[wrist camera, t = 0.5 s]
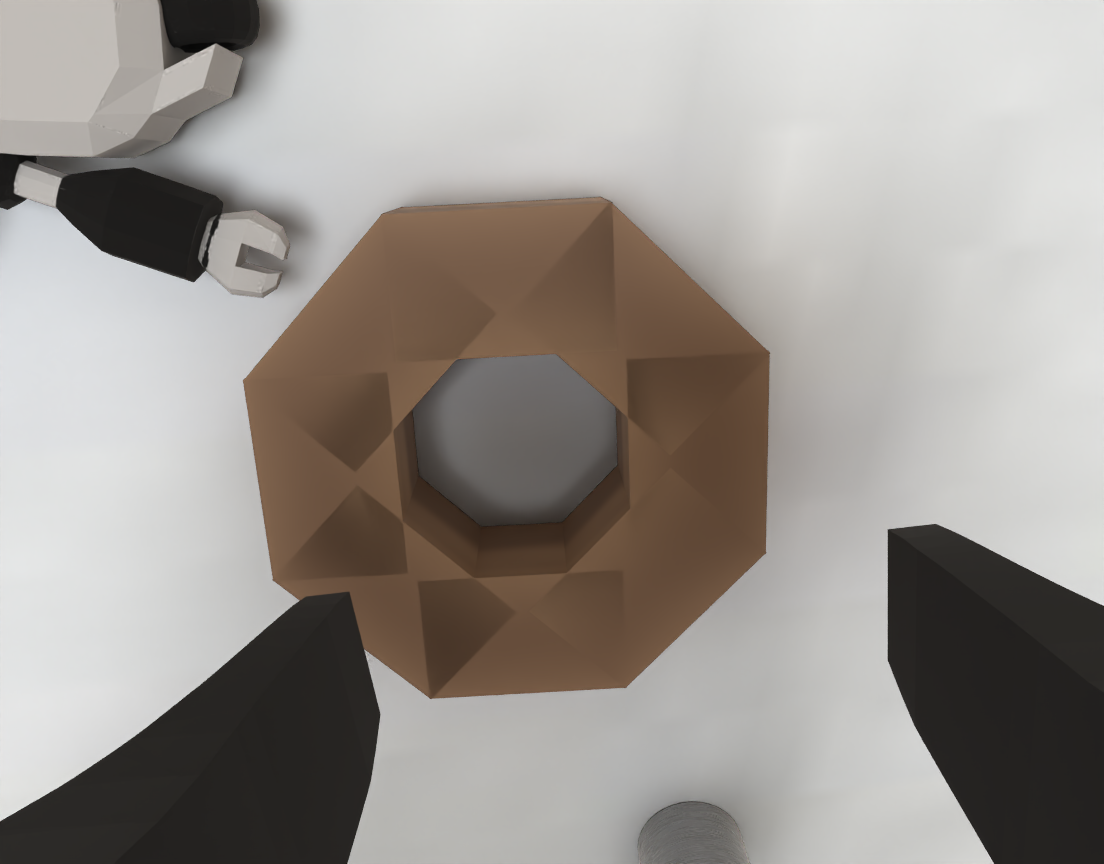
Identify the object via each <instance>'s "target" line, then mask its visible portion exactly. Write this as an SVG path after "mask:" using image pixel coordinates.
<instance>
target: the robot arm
mask: <svg viewBox="0 0 1104 864" xmlns="http://www.w3.org/2000/svg"><path fill="white" fill-rule="evenodd" d="M888 662H889V664H890V667H891V669H892V672H893V674H894V677H895V680H896V682H897V685H898V687H899V690H900V692H901V695H902V697H903V700H904V702H905V704H906V707H907V709H908V711H909V714H910V716H911V718H912V721H913V723H914V726H915V727H916V729H917V731H918V733H919V735H920V736H921V738H922V740H923V742H924V744H925V745H926V747H927V749H928V751H929V752H930V754H931V756H932V758H933V759H934V761H935V763H936V765H937V766H938V768H939V770H940V771H941V773H942V775H943V777H944V778H945V780H946V782H947V784H948V785H949V787H950V789H951V790H952V792H953V794H954V796H955V797H956V799H957V801H958V802H959V804H960V806H961V808H962V809H963V811H964V813H965V814H966V816H967V818H968V820H969V821H970V823H971V825H972V826H973V828H974V830H975V832H976V833H977V835H978V837H979V838H980V840H981V842H982V844H983V845H984V847H985V849H986V850H987V852H988V854H989V856H990V857H991V859H992V861H993V862H994V864H1104V606H1103V605H1100V604H1098V603H1096V602H1094V601H1092V600H1090V599H1088V598H1085V597H1083V596H1081V595H1079V594H1077V593H1075V592H1073V591H1071V590H1068V589H1066V588H1064V587H1062V586H1060V585H1058V584H1056V583H1054V582H1052V581H1050V580H1048V579H1046V578H1044V577H1042V576H1040V575H1038V574H1036V573H1034V572H1032V571H1030V570H1028V569H1026V568H1024V567H1022V566H1020V565H1018V564H1016V563H1014V562H1012V561H1010V560H1009V559H1007V558H1005V557H1003V556H1001V555H999V554H997V553H995V552H993V551H991V550H989V549H987V548H985V547H983V546H981V545H979V544H977V543H975V542H973V541H971V540H969V539H967V538H965V537H963V536H961V535H959V534H957V533H955V532H953V531H951V530H949V529H946V528H944V527H942V526H939V525H937V524H931V525H923V526H914V527H905V528H896V529H888ZM379 721H380V711H379V707H378V703H377V699H376V695H375V691H374V687H373V683H372V679H371V675H370V671H369V667H368V663H367V659H366V655H365V651H364V647H363V643H362V639H361V635H360V631H359V628H358V624H357V620H356V616H355V612H354V608H353V604H352V600H351V596H350V592H341V593H332V594H323V595H315V596H306V597H304V598H303V599H302V600H300V601H299V602H297V603H296V604H295V605H293V606H292V607H291V608H290V609H288V610H287V611H286V612H285V613H284V614H282V615H281V616H280V617H279V618H278V619H277V620H275V621H274V622H273V623H272V624H271V625H270V626H268V627H267V628H266V629H265V630H264V631H263V632H261V633H260V634H259V635H258V636H257V637H256V638H255V639H254V640H252V641H251V642H250V643H249V644H248V645H247V646H245V647H244V648H243V649H242V650H241V651H240V652H238V653H237V654H236V655H235V656H234V657H233V658H232V659H230V660H229V661H228V662H227V663H226V664H225V665H223V666H222V667H221V668H220V669H219V670H218V671H216V672H215V673H214V674H213V675H212V676H211V677H209V678H208V679H207V680H206V681H205V682H203V683H202V684H201V685H200V686H198V687H197V688H196V689H195V690H193V691H192V692H191V693H190V694H188V695H187V696H186V697H185V698H183V699H182V700H181V701H180V702H178V703H177V704H176V705H174V706H173V707H172V708H171V709H169V710H168V711H167V712H166V713H164V714H163V715H162V716H161V717H159V718H158V719H157V720H156V721H154V722H153V723H152V724H151V725H149V726H148V727H147V728H145V729H144V730H143V731H141V732H140V733H139V734H137V735H136V736H135V737H133V738H132V739H130V740H129V741H128V742H126V743H125V744H123V745H122V746H121V747H119V748H118V749H116V750H115V751H113V752H112V753H111V754H109V755H108V756H106V757H105V758H103V759H102V760H100V761H99V762H97V763H96V764H94V765H93V766H91V767H90V768H88V769H87V770H85V771H84V772H82V773H81V774H79V775H78V776H76V777H75V778H73V779H71V780H70V781H68V782H67V783H65V784H63V785H62V786H60V787H59V788H57V789H55V790H54V791H52V792H50V793H48V794H47V795H45V796H43V797H41V798H40V799H38V800H36V801H35V802H33V803H31V804H29V805H28V806H26V807H24V808H23V809H21V810H19V811H17V812H16V813H14V814H12V815H10V816H9V817H7V818H5V819H4V820H2V821H0V864H347V862H348V859H349V856H350V852H351V849H352V845H353V842H354V839H355V835H356V832H357V828H358V825H359V821H360V818H361V814H362V811H363V807H364V804H365V800H366V797H367V793H368V789H369V786H370V782H371V776H372V770H373V764H374V757H375V751H376V744H377V736H378V729H379Z"/></svg>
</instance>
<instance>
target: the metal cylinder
mask: <svg viewBox="0 0 1104 864" xmlns="http://www.w3.org/2000/svg"><path fill="white" fill-rule="evenodd" d="M638 855H639V862H640V864H750V862H749V859H748V856H747V853H746V849H745V846H744V843H743V840H742V837H741V834H740V831H739V828H738V826H737V824H736V823H735V821H734V820H733V819H732V817H731V816H730V815H728V814H727V813H726V812H725V811H723V810H722V809H720V808H718V807H716V806H713V805H710V804H706V803H701V802H685V803H679V804H675V805H672V806H669V807H667V808H665V809H663V810H661V811H660V812H658V813H657V814H656V815H654V816H653V817H652V818H651V819H650V820H649V821H648V822H647V824H646V825H645V826H644V828H643V830H642V832H641V834H640V837H639V841H638Z"/></svg>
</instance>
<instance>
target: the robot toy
mask: <svg viewBox="0 0 1104 864" xmlns="http://www.w3.org/2000/svg"><path fill="white" fill-rule="evenodd" d="M259 26H260V24H259V8H258V5H257V1H256V0H0V207H1V208H4V209H7V210H8V209H10V208H12V207H14V206H16V205H18V204H20V203H22V202H23V201H25V200H26V199H30V200H33V201H36V202H39V203H42V204H45V205H48V206H51V207H54V208H57V209H58V210H59V211H60V212H61V213H62V214H63V215H64V216H65V217H66V218H67V219H68V220H69V221H70V223H71V224H72V225H73V226H75V227H76V228H77V229H78V230H79V231H80V232H81V233H82V234H83V235H85V236H86V237H87V238H88V239H89V240H90V241H91V242H92V243H93V244H94V245H96V246H97V247H98V248H99V249H100V250H101V251H103V252H106V253H108V254H110V255H112V256H115V257H118V258H121V259H124V260H127V261H130V262H133V263H136V264H139V265H142V266H146V267H149V268H152V269H155V270H158V271H161V272H164V273H167V274H170V275H173V276H176V277H179V278H182V279H185V280H188V281H191V282H195V281H196V280H197V279H198V278H199V277H200V276H201V275H202V274H203V273H204V272H205V271H207V272H208V273H209V274H210V275H211V276H212V277H213V278H214V279H216V280H217V281H218V282H219V283H220V284H221V285H222V286H223V287H224V288H225V289H227V290H228V291H229V292H230V293H231V294H232V295H242V296H251V297H261V298H263V297H265V296H266V295H268V294H269V293H271V292H272V291H274V290H275V289H277V287H278V285H279V284H280V280H281V277H282V273H283V271H273V270H270V269H266V268H263V267H260V266H257V265H254V264H250V263H247V262H245V261H246V257H247V254H248V250H249V246H251V247H254V248H257V249H259V250H262V251H265V252H267V253H270V254H273V255H274V256H276V257H278V258H279V259H281V260H282V261H283V260H284V259H287V256H288V252H289V249H290V243H289V241H288V238H287V236H286V233H285V231H284V228H283V227H282V226H281V225H279V224H277V223H276V222H274V221H272V220H271V219H269V218H268V217H266V216H264V215H263V214H261V213H259V212H258V211H256V210H250V211H241V212H233V213H224V214H221V213H222V207H223V203H222V201H221V200H220V199H219V198H218V197H217V196H215V195H212V194H209V193H206V192H203V191H200V190H197V189H195V188H192V187H189V186H186V185H183V184H180V183H177V182H174V181H172V180H169V179H166V178H163V177H160V176H157V175H154V174H151V173H149V172H146V171H143V170H140V169H137V168H134V167H133V168H122V169H110V170H99V171H90V172H84V173H78V174H71V175H68V174H65V173H62V172H59V171H56V170H53V169H50V168H47V167H45V166H42V165H39V164H36V161H37V158H36V156H61V157H101V158H136V157H138V156H140V155H142V154H144V153H146V152H149V151H151V150H153V149H155V148H157V147H159V146H161V145H164V144H166V143H168V142H170V141H171V139H172V138H173V137H174V135H175V134H176V133H177V131H178V130H179V129H180V128H181V126H182V125H183V124H184V122H185V121H186V120H188V119H190V118H192V117H194V116H196V115H198V114H200V113H202V112H204V111H206V110H208V109H209V108H211V107H213V106H215V105H217V104H219V103H221V102H223V101H225V100H227V99H229V98H231V97H232V94H233V91H234V88H235V84H236V81H237V78H238V74H239V71H240V67H241V64H242V61H243V57H241V56H239V55H237V54H235V53H233V52H231V51H232V50H237V49H241V48H244V47H246V46H249V45H251V44H252V43H253V42H254V41H255V39H256V38H257V35H258V31H259ZM195 53H196V54H195Z"/></svg>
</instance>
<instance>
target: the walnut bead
mask: <svg viewBox="0 0 1104 864" xmlns="http://www.w3.org/2000/svg"><path fill="white" fill-rule="evenodd" d="M545 354H557V355H558V356H559V357H560V358H561V359H562V360H564V361H565V362H566V363H567V364H568V365H569V366H570V367H571V368H573V369H574V370H575V371H576V372H577V373H578V374H579V375H580V376H582V377H583V378H584V379H585V380H586V381H587V382H588V383H589V384H591V385H592V386H593V387H594V388H595V389H596V390H597V391H598V392H600V393H601V394H602V395H603V396H604V397H605V398H606V399H607V400H609V401H610V402H611V403H612V404H613V405H614V406H615V407H616V426H617V459H618V465H617V466H616V467H615V468H614V469H613V470H612V471H611V472H610V473H609V475H608V476H607V477H606V478H605V479H604V480H603V481H602V482H601V483H600V484H599V485H598V486H597V487H596V488H595V489H594V490H593V491H592V492H591V493H590V494H589V495H588V496H587V497H586V498H585V499H584V500H583V501H582V502H581V503H580V504H579V506H578V507H577V508H576V509H575V510H574V511H573V512H572V513H571V514H570V515H569V516H568V517H567V518H566V519H565V520H564V521H563V522H560V523H542V524H524V525H505V526H487V527H481V526H480V525H478V524H477V523H476V522H475V521H473V520H472V519H471V518H470V517H469V516H467V515H466V514H465V513H464V512H462V511H461V510H460V509H459V508H457V507H456V506H455V505H454V504H453V503H451V502H450V501H449V500H448V499H446V498H445V497H444V496H443V495H442V494H440V493H439V492H438V491H437V490H435V489H434V488H433V487H432V486H430V485H429V484H428V483H427V482H426V481H424V480H423V479H422V478H421V477H419V474H418V464H417V453H416V443H415V432H414V422H413V412H412V409H413V408H414V407H415V405H416V404H417V403H418V402H419V401H420V400H421V399H422V398H423V396H424V395H425V394H426V393H427V392H428V391H429V390H430V389H431V387H432V386H433V385H434V384H435V383H436V382H437V381H438V380H439V378H440V377H441V376H442V375H443V374H444V373H445V372H446V371H447V369H448V368H449V367H450V366H451V365H452V364H453V363H454V362H455V360H456V359H470V358H489V357H507V356H526V355H545ZM769 354H770V352H769V351H768V350H766V349H765V348H764V347H763V346H762V345H761V344H760V343H759V342H758V341H756V340H755V339H754V338H753V337H752V336H751V335H750V334H749V333H748V332H747V331H746V330H745V329H744V328H743V327H742V326H741V325H740V324H739V323H738V322H736V321H735V320H734V319H733V318H732V317H731V316H730V315H729V314H728V313H727V312H726V311H725V310H724V309H723V308H722V307H721V306H720V305H719V304H718V303H716V302H715V301H714V300H713V299H712V298H711V297H710V296H709V295H708V294H707V293H706V292H705V291H704V290H703V289H702V288H701V287H700V286H699V285H698V284H696V283H695V282H694V281H693V280H692V279H691V278H690V277H689V276H688V275H687V274H686V273H685V272H684V271H683V270H682V269H681V268H680V267H679V266H678V265H676V264H675V263H674V262H673V261H672V260H671V259H670V258H669V257H668V256H667V255H666V254H665V253H664V252H663V251H662V250H661V249H660V248H659V247H658V246H657V245H655V244H654V243H653V242H652V241H651V240H650V239H649V238H648V237H647V236H646V235H645V234H644V233H643V232H642V231H641V230H640V229H639V228H638V227H637V226H635V225H634V224H633V223H632V222H631V221H630V220H629V219H628V218H627V217H626V216H625V215H624V214H623V213H622V212H621V211H620V210H619V209H618V208H617V207H615V206H614V205H613V204H612V202H610V201H608V200H606V199H604V198H602V197H594V198H574V199H555V200H536V201H517V202H497V203H478V204H459V205H440V206H421V207H401V208H398V209H395V210H392V211H389V212H386V213H383V214H381V216H380V217H379V219H378V220H377V221H376V222H375V223H374V225H373V226H372V227H371V228H370V229H369V231H368V232H367V233H366V234H365V235H364V237H363V238H362V239H361V240H360V241H359V243H358V244H357V245H356V246H355V247H354V249H353V250H352V251H351V252H350V253H349V255H348V256H347V257H346V258H345V259H344V261H343V262H342V263H341V264H340V265H339V267H338V268H337V269H336V270H335V271H334V273H333V274H332V275H331V276H330V277H329V279H328V280H327V281H326V282H325V283H324V285H323V286H322V287H321V288H320V289H319V291H318V292H317V293H316V294H315V295H314V297H313V298H312V299H311V300H310V301H309V303H308V304H307V305H306V306H305V307H304V309H303V310H302V311H301V312H300V313H299V315H298V316H297V317H296V318H295V319H294V321H293V322H292V323H291V324H290V325H289V327H288V328H287V329H286V330H285V331H284V333H283V334H282V335H281V336H280V337H279V339H278V340H277V341H276V342H275V343H274V345H273V346H272V347H271V348H270V349H269V351H268V352H267V353H266V354H265V356H264V357H263V358H262V359H261V360H260V362H259V363H258V364H257V365H256V366H255V368H254V369H253V370H252V371H251V372H250V374H249V375H248V376H247V377H246V378H245V379H244V380H243V383H244V390H245V396H246V403H247V409H248V416H249V423H250V429H251V436H252V443H253V449H254V456H255V463H256V469H257V476H258V483H259V489H260V496H261V503H262V509H263V516H264V523H265V529H266V536H267V543H268V549H269V556H270V562H271V569H272V576H273V581H275V582H276V583H277V584H279V585H280V586H281V587H283V588H284V589H285V590H287V591H288V592H289V593H291V594H292V595H293V596H295V597H296V598H297V599H299V600H302V599H303V598H304V597H306V596H315V595H323V594H332V593H341V592H350V596H351V600H352V604H353V608H354V612H355V616H356V620H357V624H358V628H359V631H360V635H361V639H362V643H363V647H364V649H365V650H366V651H368V652H369V653H370V654H372V655H373V656H374V657H376V658H377V659H378V660H380V661H381V662H382V663H384V664H385V665H386V666H388V667H389V668H390V669H392V670H393V671H394V672H396V673H397V674H398V675H400V676H401V677H402V678H404V679H405V680H406V681H408V682H409V683H410V684H412V685H413V686H414V687H416V688H417V689H418V690H420V691H421V692H422V693H424V694H425V695H426V696H428V697H429V698H430V699H433V698H451V697H469V696H486V695H504V694H521V693H539V692H557V691H574V690H592V689H610V688H627V686H628V685H629V684H630V683H631V682H632V681H633V680H634V679H635V678H636V677H637V676H638V675H639V674H640V673H641V672H642V671H644V670H645V669H646V668H647V667H648V666H649V665H650V664H651V663H652V662H653V661H654V660H655V659H656V658H657V657H658V656H659V655H660V654H661V653H662V652H663V651H664V650H665V649H666V648H667V647H668V646H670V645H671V644H672V643H673V642H674V641H675V640H676V639H677V638H678V637H679V636H680V635H681V634H682V633H683V632H684V631H685V630H686V629H687V628H688V627H689V626H690V625H691V624H692V623H693V622H694V621H696V620H697V619H698V618H699V617H700V616H701V615H702V614H703V613H704V612H705V611H706V610H707V609H708V608H709V607H710V606H711V605H712V604H713V603H714V602H715V601H716V600H717V599H718V598H719V597H721V596H722V595H723V594H724V593H725V592H726V591H727V590H728V589H729V588H730V587H731V586H732V585H733V584H734V583H735V582H736V581H737V580H738V579H739V578H740V577H741V576H742V575H743V574H744V573H745V572H747V571H748V570H749V569H750V568H751V567H752V566H753V565H754V564H755V563H756V562H757V561H758V560H759V559H760V558H761V557H762V556H763V555H764V554H766V509H767V457H768V405H769Z"/></svg>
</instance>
